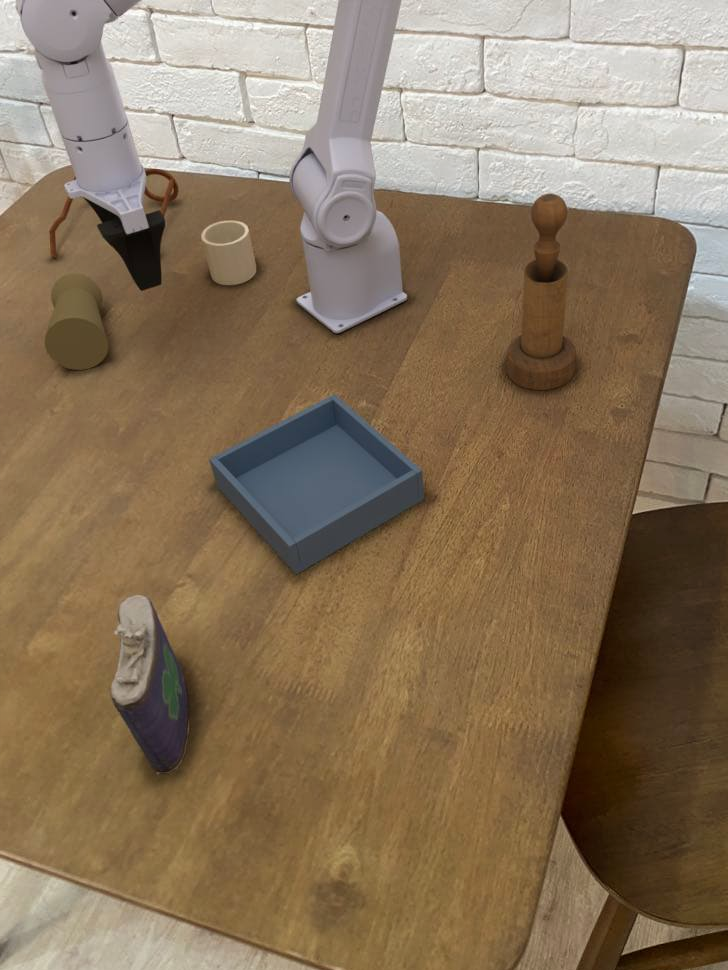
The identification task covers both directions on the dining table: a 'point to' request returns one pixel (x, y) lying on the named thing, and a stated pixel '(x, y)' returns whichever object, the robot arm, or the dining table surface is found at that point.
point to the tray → (317, 481)
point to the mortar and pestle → (543, 308)
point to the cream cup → (229, 252)
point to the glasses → (165, 199)
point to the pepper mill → (76, 323)
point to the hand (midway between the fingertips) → (139, 266)
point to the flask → (150, 686)
